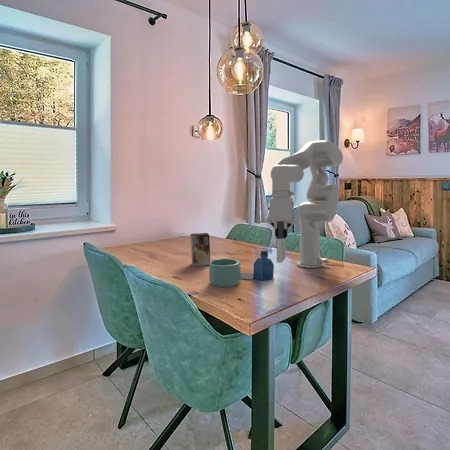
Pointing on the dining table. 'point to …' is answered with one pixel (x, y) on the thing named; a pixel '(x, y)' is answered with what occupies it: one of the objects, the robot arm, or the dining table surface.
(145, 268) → the dining table surface
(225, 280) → the utensil pot
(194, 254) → the coffee box
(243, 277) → the rubber mat
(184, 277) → the dining table surface
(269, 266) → the perfume bottle
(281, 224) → the brushed metal bar
